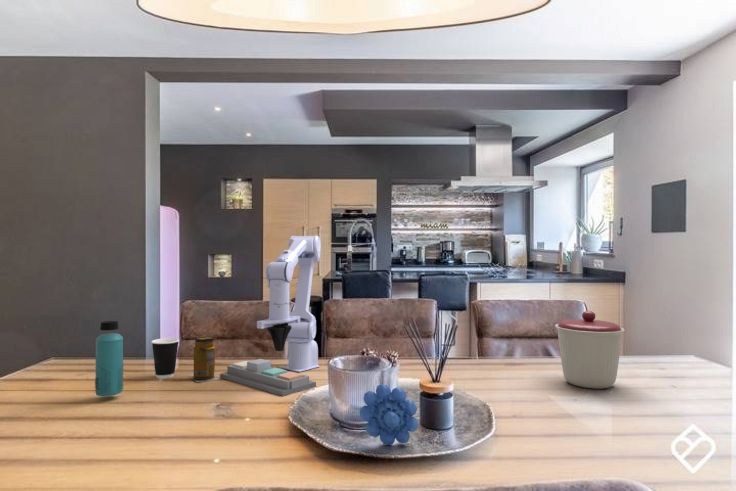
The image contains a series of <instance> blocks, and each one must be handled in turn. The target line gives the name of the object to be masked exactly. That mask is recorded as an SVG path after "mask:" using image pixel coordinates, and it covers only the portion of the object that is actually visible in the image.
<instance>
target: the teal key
mask: <svg viewBox="0 0 736 491" xmlns="http://www.w3.org/2000/svg"><path fill="white" fill-rule="evenodd" d="M287 371H288V369H283V368H279V367H278V368H277V367H274V368H272V369H268V370H264V371H262V374H265V375H269V376H277V375H280V374H284V373H287Z"/></svg>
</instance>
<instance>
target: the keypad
mask: <svg viewBox="0 0 736 491" xmlns="http://www.w3.org/2000/svg"><path fill="white" fill-rule="evenodd" d="M233 364H234V363H232V364H229V365H227V367H226V368H227V369H226V370H227V372H226V371H225V372H223V373H220V374H219V378H221V379H223V380H227V381H231V382H233V383H236V384H241V385H243V386H247V387H251V388H254V389H257V390H261V391H263V392H268V393H270V394H274V395H277V396H281V397H285V396H288V395H292V394H294V393H295V394H296V393H299V392H302V391H304V390H308V389H312V388H315V387H317V382H316V381H313V380H310V376H309V375H307V374H303V377H302V378H298V379H294V380H291V381H288V380H284V379H280V378H278V375H277V376H269V375H265V374H262V371H261V372H254V371H250V370H247V368H243V369H242V368H238V367H235V366H233ZM272 368H275V367H272V366H271V369H272ZM288 372H291V370H287V373H288Z"/></svg>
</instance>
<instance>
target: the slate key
mask: <svg viewBox="0 0 736 491" xmlns="http://www.w3.org/2000/svg"><path fill="white" fill-rule="evenodd" d="M247 361H248V362H247V370H250V371H254V372H261V371H264V370H268V369H271V367H272V360H268V359H262V358H258V359H254V360H250V361H249V360H247Z"/></svg>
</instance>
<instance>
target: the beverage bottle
mask: <svg viewBox="0 0 736 491" xmlns="http://www.w3.org/2000/svg"><path fill="white" fill-rule="evenodd" d="M99 329H100V331H116V330H119V321H118V320H106V321H101V322H100V328H99ZM123 340H124V337H123V335H121V334H120V333H116V332H115V333H114V332H110V333H103V334H100V335H99V336H98V337H96V339H95V367H94V368H95V370H94V372H95V377H94V391H95V394H96V396H97V397H111V396H115V395H116V396H117V395H119V394H121V393H122V392H123V391H124V388H125V387H124V378H125V377H124V347H123V346H124V341H123Z"/></svg>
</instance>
